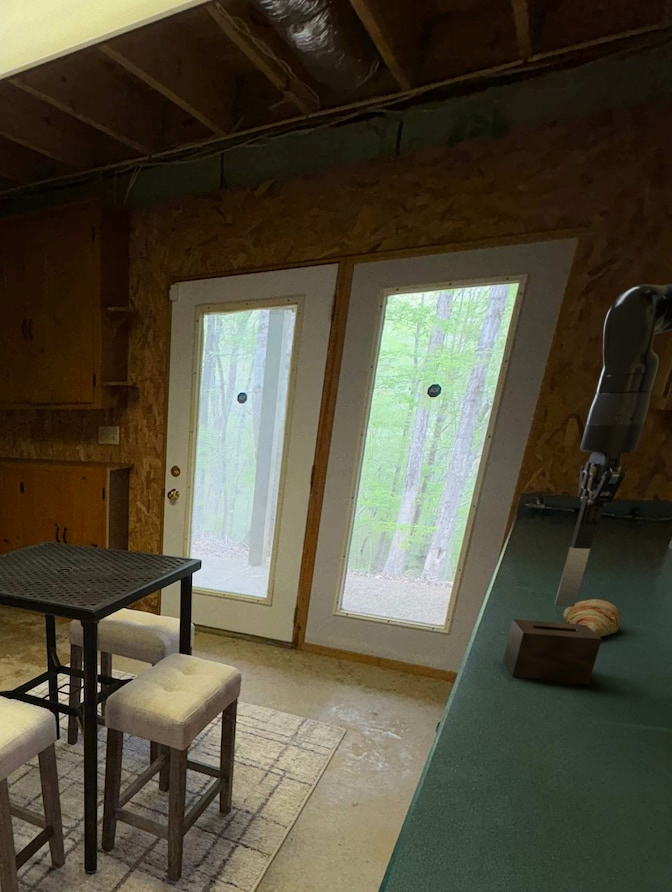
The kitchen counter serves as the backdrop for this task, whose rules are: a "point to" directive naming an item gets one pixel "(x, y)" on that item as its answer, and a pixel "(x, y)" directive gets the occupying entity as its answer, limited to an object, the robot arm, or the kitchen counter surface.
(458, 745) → the kitchen counter surface
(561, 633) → the knife block
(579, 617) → the croissant
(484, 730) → the kitchen counter surface
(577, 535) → the knife
